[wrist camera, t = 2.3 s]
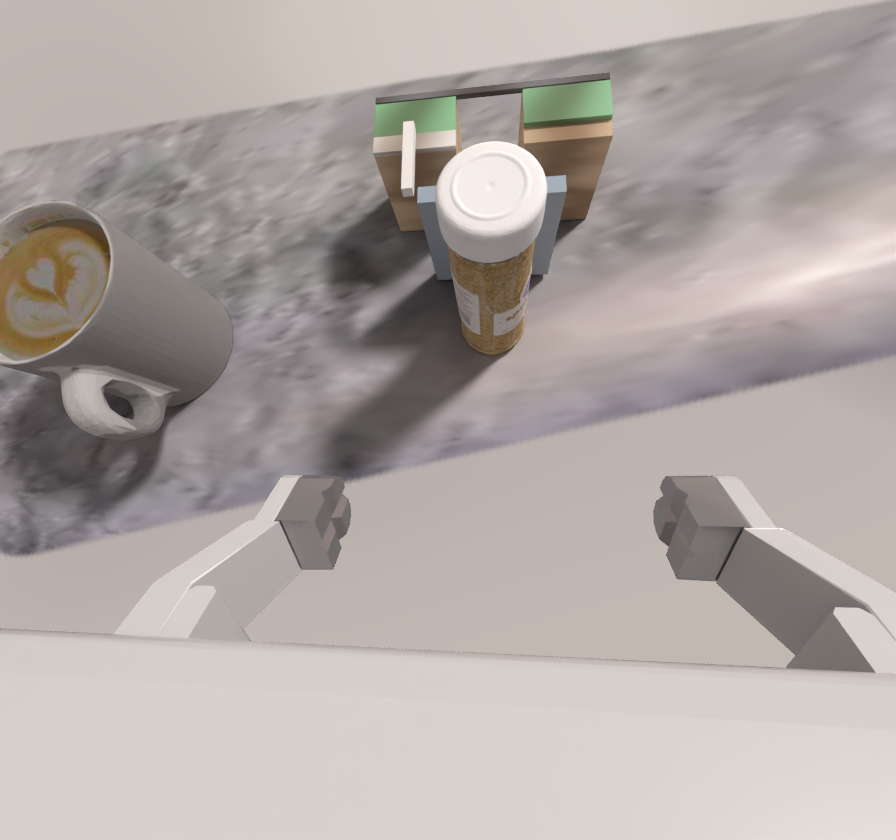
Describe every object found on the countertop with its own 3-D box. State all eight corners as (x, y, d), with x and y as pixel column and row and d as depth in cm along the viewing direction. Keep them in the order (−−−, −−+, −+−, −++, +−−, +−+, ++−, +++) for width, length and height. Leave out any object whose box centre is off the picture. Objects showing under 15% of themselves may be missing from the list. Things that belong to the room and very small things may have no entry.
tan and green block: (582, 172, 30) (609, 72, 23) (585, 218, 30) (614, 130, 22) (402, 186, 32) (375, 97, 25) (400, 231, 31) (373, 153, 24)
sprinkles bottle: (526, 353, 28) (553, 230, 15) (461, 358, 29) (434, 241, 16) (521, 294, 29) (544, 128, 16) (459, 299, 30) (431, 142, 16)
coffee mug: (124, 295, 33) (-31, 211, 23) (236, 282, 32) (123, 188, 22) (106, 455, 30) (-77, 436, 21) (227, 446, 29) (95, 422, 20)
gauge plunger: (544, 215, 30) (564, 105, 21) (547, 274, 29) (568, 183, 20) (428, 223, 31) (403, 121, 22) (427, 280, 30) (400, 196, 21)
